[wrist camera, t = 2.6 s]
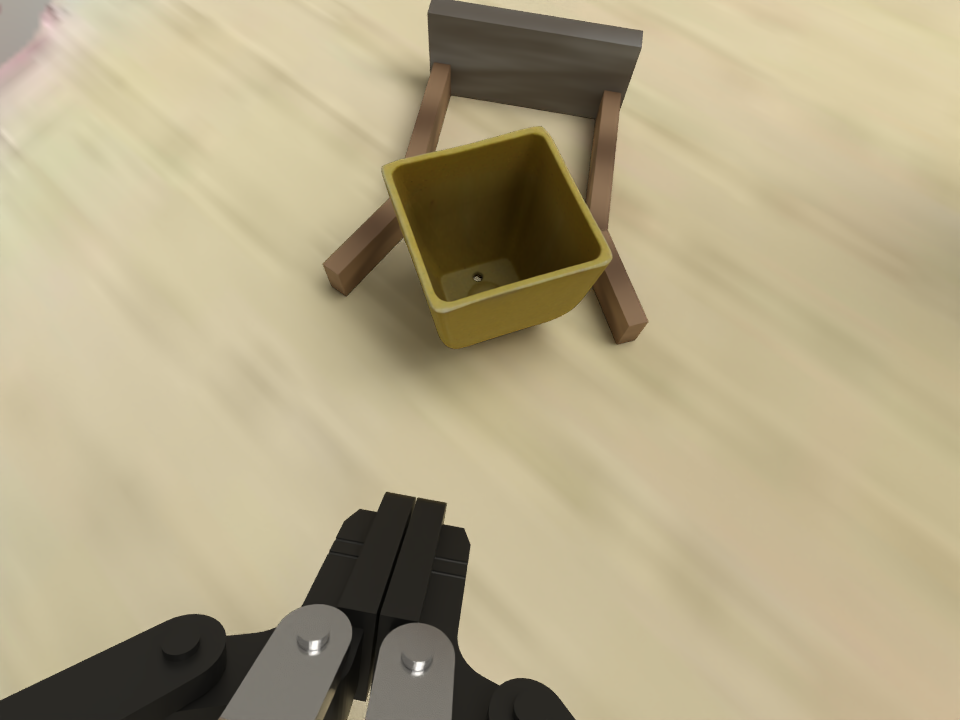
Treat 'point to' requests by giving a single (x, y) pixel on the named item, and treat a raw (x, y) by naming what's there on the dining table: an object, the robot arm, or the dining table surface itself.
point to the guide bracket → (528, 83)
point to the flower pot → (496, 234)
